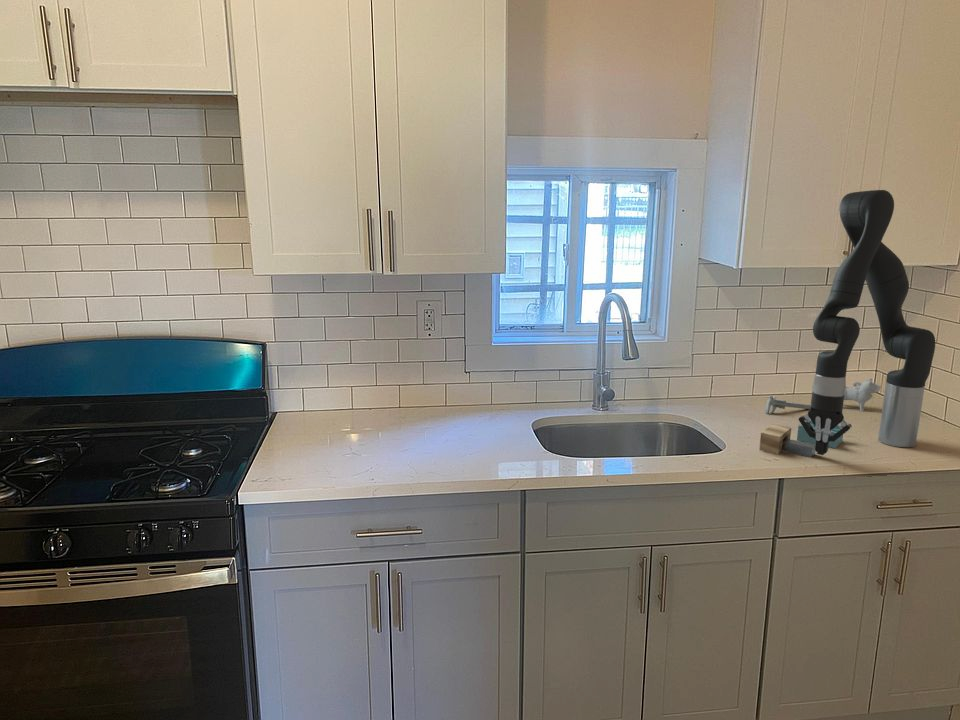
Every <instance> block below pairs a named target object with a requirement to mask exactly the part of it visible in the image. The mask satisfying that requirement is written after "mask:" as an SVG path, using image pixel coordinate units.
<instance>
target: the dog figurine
mask: <svg viewBox="0 0 960 720" xmlns="http://www.w3.org/2000/svg"><path fill="white" fill-rule="evenodd" d="M881 389H882V385H878V384H877V383H875V382H873V378H868V379H866V380H864V381H863V382H861V383H860V382H859V381H854V382H852V387H851V386H849V387H848V386H846V387H845V395H844V401H854V402H857V403H858V404H859V412H861V411H862V412H863V413H864V412H865V403H867V402H868V401H870V400H871V399H872V397H873V394H874V393H878V392H879V391H880V390H881Z"/></svg>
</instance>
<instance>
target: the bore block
mask: <svg viewBox="0 0 960 720" xmlns="http://www.w3.org/2000/svg"><path fill="white" fill-rule="evenodd" d="M791 434H792V427H789V426H786V425H785V426H784V425H780V424H774V423H773V424H771V425H770V426H768V427H766V428H765V429H764V430H763V431H761V432H760V438H759V451H762V450H763V452H766V451H767V453H772V454H775V453H776V455H779V454H781V452H783V451H782V442H783V438H786V439H790V440H791Z"/></svg>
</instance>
